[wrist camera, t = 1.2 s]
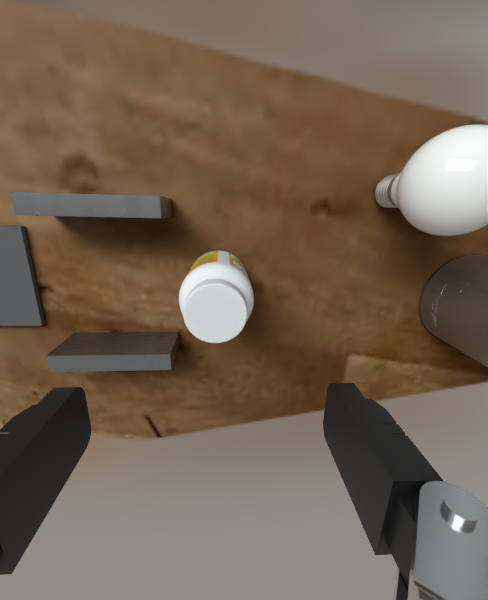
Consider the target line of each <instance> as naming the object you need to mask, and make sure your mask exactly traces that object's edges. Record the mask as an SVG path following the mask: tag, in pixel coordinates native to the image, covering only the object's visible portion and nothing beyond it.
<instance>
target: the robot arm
mask: <svg viewBox="0 0 488 600" xmlns="http://www.w3.org/2000/svg"><path fill="white" fill-rule="evenodd" d="M420 315H421V319H422V322H423V324H424V326H425V327H426V329H427V330H428V331H429V332H430V333H432V334H433V335H434V336H436V337H438V338H439V339H441V340H443V341H444V342H446V343H448V344H449V345H451V346H453V347H454V348H456V349H458V350H459V351H461V352H463V353H464V354H466V355H468V356H469V357H471V358H473V359H474V360H476V361H478V362H479V363H481V364H483V365H484V366H486V367H488V256H486V255H474V254H472V255H466V256H462V257H459V258H457V259H454V260H452V261H450V262H449V263H447V264H446V265H444V266H443V267H442V268H440V269H439V270H438V271H437V272H436V273H435V274H434V275H433V277H432V278H431V279H430V280H429V282H428V284H427V285H426V287H425V289H424V291H423V294H422V297H421V302H420ZM323 428H324V435H325V439H326V441H327V444H328V446H329V449H330V451H331V453H332V456H333V458H334V460H335V462H336V465H337V467H338V469H339V472H340V474H341V476H342V479H343V481H344V483H345V486H346V488H347V490H348V492H349V495H350V497H351V500H352V502H353V504H354V506H355V509H356V511H357V514H358V516H359V518H360V521H361V523H362V525H363V528H364V530H365V532H366V534H367V537H368V539H369V541H370V544H371V546H372V548H373V551H374V553H375V555H387V554H392V556H393V558H394V560H395V562H396V564H397V566H398V570H397V575H396V582H395V591H394V600H488V507H487V506H486V505H485V504H484V503H483V502H481V501H480V500H479V499H478V498H477V497H475V496H474V495H472V494H471V493H469V492H468V491H466V490H464V489H462V488H460V487H458V486H456V485H453V484H451V483H447V482H444V481H443V480H442V479H441V477H440V476H439V475H438V474H437V472H436V471H435V470H434V469H433V468H432V466H431V465H430V464H429V462H428V461H427V460H426V459H425V457H424V456H423V455H422V454H421V453H420V451H419V450H418V449H417V448H416V446H415V445H414V444H413V442H412V441H411V440H410V439H409V437H408V436H405V432H404V431H403V430H402V429H401V428H400V426H399V425H397V424H396V421H395V420H394V419H393V418H392V416H391V415H390V414H389V413H388V411H387V410H386V409H385V408H383V407H382V406H381V405H379V404H378V403H377V402H375V401H374V400H372V399H365V398H364V396H363V395H362V394H361V392H360V391H359V390H358V388H357V387H356V386H355V384H353V383H331V384H329V386H328V389H327V397H326V404H325V412H324V420H323ZM90 435H91V424H90V419H89V413H88V408H87V402H86V397H85V392H84V390H83V389H82V388H81V387H68V388H53V389H52V390H51V391H50V392H49V393H48V394H47V395H46V396H45V397H44V398H43V399H42V400H41V401H40V402H39V403H38V404H37V405H32V406H31V407H29V408H27V409H26V410H24V411H23V412H21V413H19V414H18V415H16V416H14V417H13V418H12V419H11V420H10V421H9V422H8V423H7V424H6V425H5V426H4V427H3V428H2V429H1V430H0V574H12V572H13V570H14V569H15V567H16V565H17V564H18V562H19V560H20V559H21V557H22V555H23V554H24V552H25V550H26V548H27V547H28V545H29V543H30V542H31V540H32V539H33V537H34V535H35V534H36V532H37V530H38V528H39V527H40V525H41V523H42V522H43V520H44V518H45V517H46V515H47V513H48V512H49V510H50V508H51V507H52V505H53V503H54V502H55V500H56V498H57V496H58V495H59V493H60V491H61V490H62V488H63V486H64V485H65V483H66V481H67V480H68V478H69V476H70V475H71V473H72V471H73V470H74V468H75V466H76V465H77V463H78V461H79V460H80V458H81V456H82V455H83V453H84V451H85V450H86V448H87V445H88V443H89V439H90Z"/></svg>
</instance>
